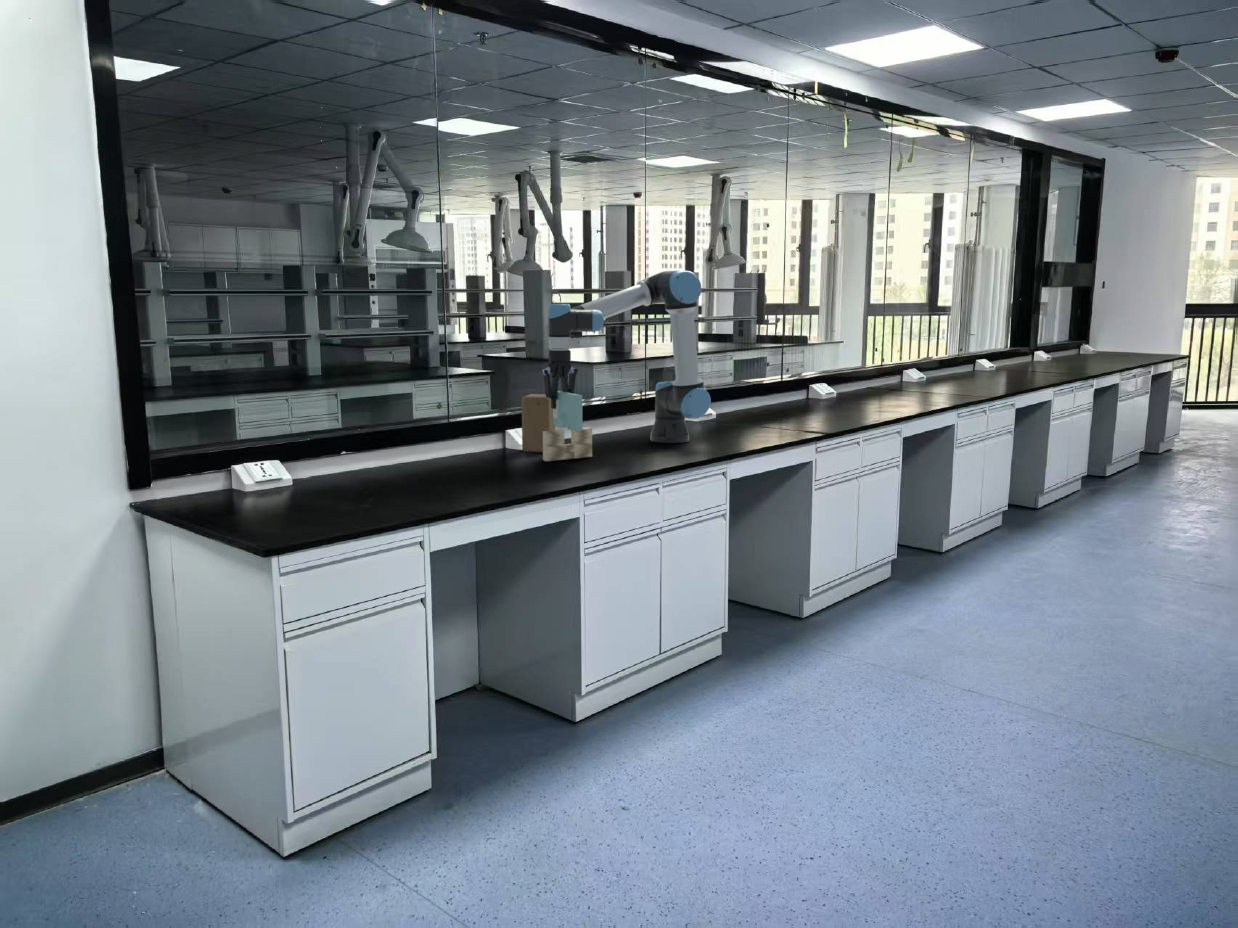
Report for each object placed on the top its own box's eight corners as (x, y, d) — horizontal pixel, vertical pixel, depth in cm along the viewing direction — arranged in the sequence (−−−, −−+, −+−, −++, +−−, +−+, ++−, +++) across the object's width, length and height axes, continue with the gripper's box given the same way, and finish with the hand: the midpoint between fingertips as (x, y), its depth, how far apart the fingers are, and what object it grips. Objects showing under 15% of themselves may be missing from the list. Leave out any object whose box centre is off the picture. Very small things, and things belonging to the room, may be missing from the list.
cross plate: (553, 425, 310) (553, 391, 308) (559, 425, 311) (559, 390, 309) (576, 431, 297) (576, 395, 295) (582, 430, 298) (582, 395, 296)
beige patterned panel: (588, 455, 312) (588, 427, 310) (592, 456, 310) (592, 428, 308) (543, 460, 302) (542, 431, 300) (546, 461, 300) (546, 431, 298)
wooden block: (548, 453, 316) (547, 397, 313) (521, 452, 318) (520, 396, 315) (555, 448, 326) (555, 394, 322) (529, 447, 328) (529, 393, 324)
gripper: (573, 348, 311) (574, 415, 315) (534, 349, 303) (535, 418, 307) (584, 349, 305) (584, 417, 309) (544, 350, 297) (545, 420, 301)
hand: (560, 417), depth 308 cm, fingers closed on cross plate, 2 cm apart
